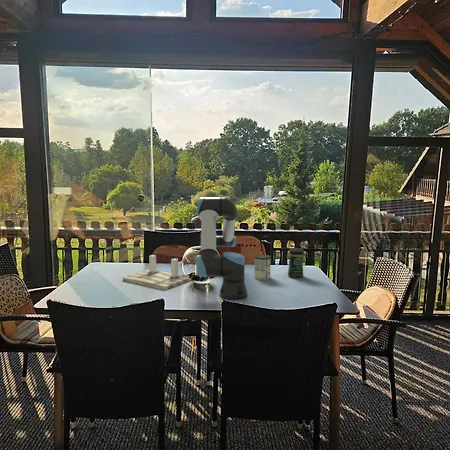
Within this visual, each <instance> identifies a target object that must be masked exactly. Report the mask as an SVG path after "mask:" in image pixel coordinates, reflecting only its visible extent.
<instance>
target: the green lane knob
mask: <svg viewBox="0 0 450 450" xmlns="http://www.w3.org/2000/svg"><path fill="white" fill-rule="evenodd" d="M170 261H171V262H170V263H171V264H170V266H171V267H170V269H171V270H170V273H171V276H170V277H171V278H177V277H180V275H181V274H179V267H178V262H179V259H178V258H171V260H170Z"/></svg>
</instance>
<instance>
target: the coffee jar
mask: <svg viewBox="0 0 450 450" xmlns="http://www.w3.org/2000/svg"><path fill="white" fill-rule="evenodd" d="M304 252H305V250H304V249H303V248H302V247H301V248H299V247H290V248H289V250H288V257H289V263H288V270H287V276H288V277H290V278H295V279H296V278H303V277H304V264H303V262H304V261H303V260H304V257H305V253H304Z"/></svg>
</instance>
